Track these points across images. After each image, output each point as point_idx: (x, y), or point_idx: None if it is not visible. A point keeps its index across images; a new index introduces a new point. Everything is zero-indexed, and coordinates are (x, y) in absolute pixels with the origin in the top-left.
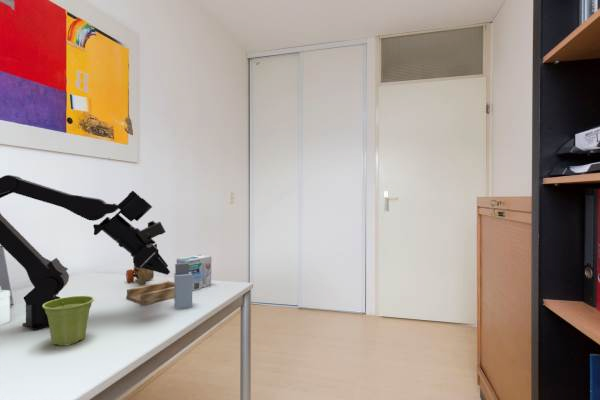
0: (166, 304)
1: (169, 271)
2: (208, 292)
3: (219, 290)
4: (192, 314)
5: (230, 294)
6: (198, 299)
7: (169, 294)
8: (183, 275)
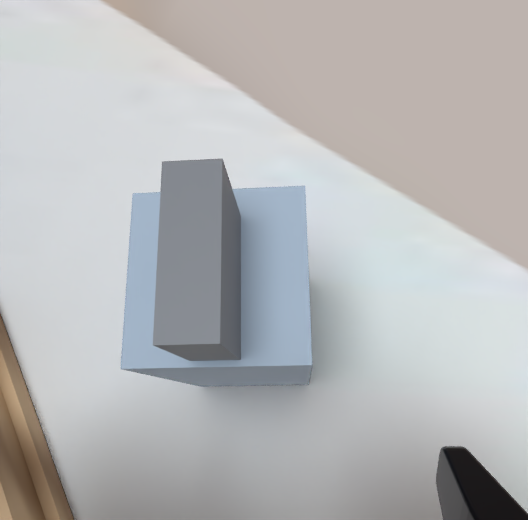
0: (156, 440)
1: (468, 456)
2: (15, 152)
3: (7, 86)
4: (448, 289)
5: (130, 42)
6: None
7: (4, 411)
8: (305, 275)
